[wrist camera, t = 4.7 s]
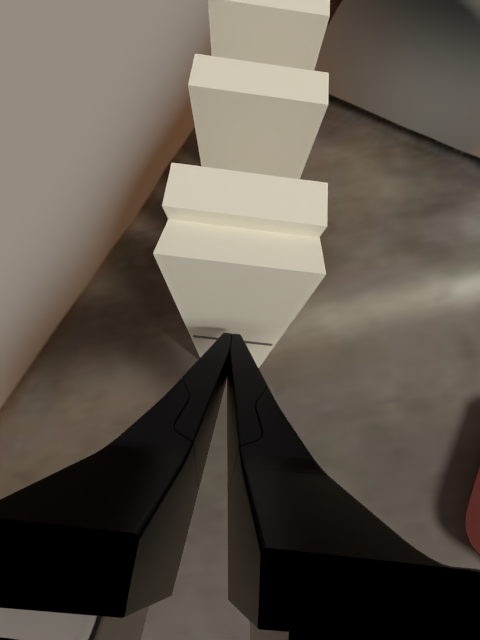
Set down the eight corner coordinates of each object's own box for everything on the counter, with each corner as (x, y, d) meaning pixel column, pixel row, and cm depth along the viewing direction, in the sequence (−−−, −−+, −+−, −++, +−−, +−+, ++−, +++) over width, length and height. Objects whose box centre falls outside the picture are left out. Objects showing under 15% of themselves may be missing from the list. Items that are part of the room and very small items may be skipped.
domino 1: (258, 368, 16) (326, 275, 5) (201, 362, 16) (152, 254, 5) (259, 350, 17) (319, 236, 6) (205, 344, 16) (168, 218, 6)
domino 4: (269, 225, 19) (329, 16, 7) (222, 219, 19) (207, -2, 7) (270, 211, 19) (330, -10, 8) (224, 205, 19) (213, -28, 8)
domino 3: (265, 267, 18) (328, 105, 6) (216, 261, 18) (188, 85, 6) (267, 252, 18) (328, 72, 7) (219, 246, 18) (195, 52, 7)
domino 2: (262, 315, 17) (327, 228, 5) (210, 309, 17) (161, 207, 5) (263, 298, 18) (327, 181, 6) (212, 292, 17) (171, 161, 6)
